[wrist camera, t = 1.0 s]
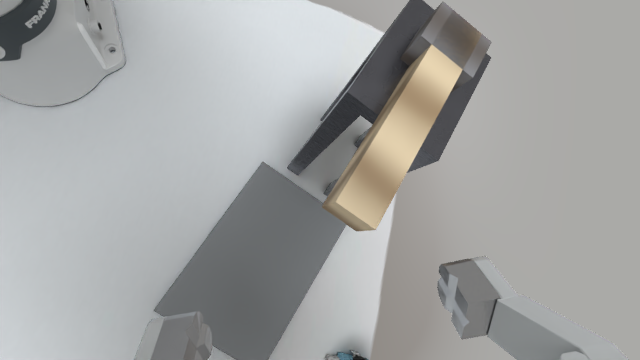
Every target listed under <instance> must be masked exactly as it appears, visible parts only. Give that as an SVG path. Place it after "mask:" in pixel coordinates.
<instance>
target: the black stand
mask: <svg viewBox="0 0 640 360" xmlns="http://www.w3.org/2000/svg"><path fill="white" fill-rule="evenodd" d="M434 11H435V10H434V9H432V8H431V7H430V6H429V5H427V4H426V3H425V2H424V1H423V0H409V2H408V3H407V5H406V6H405V7H404V8H403V10H402V11H401V12H400V14H399V15H398V16H397V18H396V19H395V20H394V22H393V23H392V24H391V26H390V27H389V28H388V30H387V31H386V32H385V34H384V35H383V36H382V38H381V39H380V40H379V42H378V43H377V44H376V46H375V47H374V48H373V50H372V51H371V53H370V54H369V55H368V57H367V58H366V59H365V61H364V62H363V63H362V65H361V66H360V67H359V69H358V70H357V71H356V73H355V74H354V75H353V77H352V78H351V79H350V81H349V82H348V83H347V85H346V86H345V87H344V89H343V90H342V91H341V93H340V94H339V95H338V97H337V98H336V99H335V101H334V102H333V103H332V105H331V106H330V107H329V109H328V110H327V111H326V113H325V114H324V116H323V117H322V118H321V121H322V123H321V124H320V125H319V126H318V128H317V129H316V130H315V132H314V133H313V134H312V135H311V137H310V138H309V139H308V141H307V142H306V143H305V144H304V146H303V147H302V148H301V150H300V151H299V152H298V153H297V155H296V156H295V157H294V159H293V160H292V161H291V163H290V164H289V166H288V167H287V168H288V169H289V170H291V171H292V172H293V173H295V174H296V175H299V174H300V173H301V172H302V171H303V170H304V169H305V168H306V167H307V166H308V165H309V164H310V163H311V162H312V161H313V160H314V159H315V158H316V157H317V156H318V155H319V154H320V153H321V152H322V151H324V150H325V149H326V148H327V147H328V146H329V145H330V144H331V143H332V142H333V141H334V140H335V139H336V138H337V137H338V136H339V135H340V134H341V133H342V132H343V131H344V130H345V129H346V128H347V127H348V126H349V125H351V124H352V123H353V122H354V121H355V120H356V119H357V118H358V117H359V116H360V115H361V116H362V117H364V118H365V119H366V120H368V121H369V122H370V123H372V124H374V122H375V120H376V119H377V117H378V116H379V114H380V112H381V111H382V109H383V108H384V106H385V104H386V103H387V101H388V100H389V98H390V96H391V95H392V93H393V92H394V90H395V88H396V87H397V85H398V84H399V82H400V80H401V79H402V77H403V76H404V74H405V72H406V71H407V69H408V68H409V65H407V64H406V63H405V62H404V61H402V60H401V59H400V58H401V56H402V54H403V53H404V51H405V50H406V48H407V47H408V45H409V44H410V42H411V41H412V39H413V37H414V36H415V34H416V33H417V31H418V30H419V28H420V27H421V25H422V24H423V23H424V22H425V21H426V20H427V19H428V18H429V17H430V15H431V14H432V13H433V12H434ZM490 59H491V57H490V56H489V55H487V54H485V56H484V58H483V60H482V62H481V63H480V65H479V67H478V69H477V71H476V73H475V75H474V77H473V78H472V79H471V80H469V81H468V82H466V83H465V84H463V85H462V86H460V87H459V88H457V89H456V90H454V91H453V92H451V93H450V94H449V96H448V98H447V100H446V101H445V103H444V105H443V107H442V109H441V111H440V113H439V114H438V116H437V118H436V120H435V122H434V124H433V125H432V127H431V129H430V131H429V133H428V135H427V136H426V138H425V140H424V142H423V144H422V146H421V147H420V149H419V151H418V153H417V155H416V157H415V158H414V160H413V162H412V164H411V166H410V168H409V169H408V171H407V173H408V172H410V171H413V170H416V169H418V168H421V167H423V166H426V165H429V164H431V163H434V162H436V161H438V160H439V159H440V157H441V155H442V153H443V150H444V149H445V147H446V145H447V143H448V141H449V139H450V137H451V135H452V133H453V131H454V129H455V127H456V125H457V123H458V121H459V119H460V117H461V116H462V114H463V112H464V110H465V108H466V106H467V104H468V102H469V100H470V98H471V96H472V94H473V92H474V90H475V88H476V86H477V84H478V82H479V80H480V79H481V77H482V75H483V73H484V71H485V69H486V67H487V65H488V63H489V61H490ZM369 130H370V128H369V129H368V130H367V131H366V132H364V133H363V134H362V135H361V136H360V137H359V139H358V140H357V142H356V143H355V146H357V147H358V148H359V146H360V144H361V143H362V141H363V140H364V138H365V136H366V135H367V133H368V132H369ZM338 180H339V179H337V180H335V181H334V182H332V183H330V185H329V186H328V188H327V189H326V191H325V192H324V194H325V195H326V196H329V194H330V193H331V191H332V189H333V188H334V186H335V185H336V183H337V181H338Z"/></svg>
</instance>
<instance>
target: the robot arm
mask: <svg viewBox="0 0 640 360" xmlns="http://www.w3.org/2000/svg"><path fill="white" fill-rule="evenodd" d="M112 50H116V51H115V52H114V53H111V51H112ZM125 62H126V59H125V54H124V50H123V46H122V41H121V37H120V32H119V28H118V24H117V19H116V15H115V10H114V6H113V2H112V0H0V95H2V96H4V97H6V98H8V99H10V100H12V101H15V102H18V103H22V104H26V105H32V106H55V105H61V104H65V103H68V102H71V101H74V100H76V99H79V98H80V97H82V96H84V95H86V94H87V93H88V92H90V91H91V90H92V89H93V88H94V87H95V86H96V85H97V84H98V83H99V82H100V81H101V80H102V79H103V78H104V77H105V76H106V75H108V74H110V73H112V72H114V71H116V70H118V69H120V68H122V67H123V66H124V65H125ZM439 273H440V275H441V278H440V279H439V280H438V287H437V288H438V292H439V297H440V299H441V302H442V304H443V306H444V308H445V309H446V310H448V311H449V312H451V313H452V320H451V321H452V323H453V325H454V326H455V328H456V330H457V332H458V334H459V336H460V338H461V339H466V338H473V337H478V336H485V335H488V337H489V338H490V339H491V340H492V341H494V342H495V343H496V344H498V345H499V346H500V347H501V348H503V349H504V350H505V351H506V352H508V353H509V354H510V355H512V356H513V357H514V358H515V359H517V360H629V359H628V358H627V357H626V356H625V355H624V354H623V353H622V352H621V351H620V350H619V348H617V346H616V345H615V344H614V343H613V342H611V341H609V340H607V339H605V338H604V337H601V336H600V335H598V334H596V333H594V332H592V331H590V330H589V329H587V328H585V327H583V326H581V325H579V324H577V323H575V322H574V321H572V320H570V319H568V318H566V317H564V316H562V315H560V314H558V313H557V312H555V311H553V310H551V309H549V308H547V307H545V306H544V305H542V304H540V303H538V302H536V301H534V300H532V299H530V298H529V297H527V296H525V295H518V294H517V293H516V292H515V291H514V289H513V288H512V287H511V286H510V284H509V283H508V282H507V280H506V279H505V278H504V277H503V276H502V274H501V273H500V272H499V271H498V269H497V268H496V267H495V266H494V264H493V263H492V262H491V261H490V259H489V258H488V257H486V256H482V257H476V258H471V259H464V260H459V261H454V262H450V263H445V264H441V265H440V267H439ZM203 318H204V317H203V315H202V314H201V312H200V311H197V312H191V313H185V314H179V315H172V316H166V317H161V318H155V319H152V320H151V321H150V322H149V323H148V325H147V327H146V330H145V332H144V335H143V337H142V340H141V343H140V345H139V348H138V350H137V353H136V356H135V358H134V360H207V359H208V358H209V356H210V355H211V350H212V334H211V330H210V328H209V326H208V325H207V324H205V323H203Z"/></svg>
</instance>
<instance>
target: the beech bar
mask: <svg viewBox="0 0 640 360" xmlns="http://www.w3.org/2000/svg"><path fill="white" fill-rule="evenodd" d="M490 44H491V41H490V40H488V39H487V38H486V37H485V36H484V35H482V34H481V33H480V32H479V31H477V30H476V29H475V28H474V27H473V26H472V25H470V24H469V23H468V22H467V21H466V20H465V19H463V18H462V17H461V16H460V15H459V14H457V13H456V12H455V11H454V10H452V8H450V7H449V6H448V5H447V4H446V3H444V2H442V3H441V4H440V5H439V7H438V8H437V9H436V10H435V11H434V12H433V13H432V14H431V15H430V17H429V18H428V19H427V20H426V21H425V22H424V23H423V24H422V25H421V27H420V28H419V30H418V31H417V33H416V34H415V36H414V37H413V39H412V41H411V42H410V44H409V45H408V47H407V48H406V50H405V51H404V53H403V54H402V56H401V58H400V59H401V60H402V61H404V62H405V63H406V64H407V65H409V68H408V69H407V71H406V72H405V74H404V76H403V77H402V79H401V80H400V82H399V84H398V85H397V87H396V88H395V90H394V92H393V93H392V95H391V96H390V98H389V100H388V101H387V103H386V104H385V106H384V108H383V109H382V111H381V112H380V114H379V116H378V117H377V119H376V120H375V122H374V124H373V125H372V127H371V128H370V130H369V132H368V133H367V135H366V136H365V138H364V140H363V141H362V143H361V144H360V146H359V148H358V149H357V151H356V152H355V154H354V156H353V157H352V159H351V161H350V162H349V164H348V165H347V167H346V169H345V170H344V172H343V173H342V175H341V177H340V178H339V180H338V181H337V183H336V185H335V186H334V188H333V189H332V191H331V193H330V194H329V196H328V197H327V199H326V201H325V202H324V204H323V205H322V208H323V209H325V210H326V211H328V212H329V213H331V214H332V215H334V216H335V217H336V218H338V219H339V220H341V221H342V222H344V223H345V224H347V225H348V226H349V227H351V228H352V229H354V230H355V231H367V230H376V228H377V226H378V225H379V223H380V221H381V219H382V217H383V215H384V214H385V212H386V210H387V208H388V206H389V204H390V203H391V201H392V199H393V197H394V195H395V193H396V192H397V190H398V188H399V186H400V184H401V182H402V181H403V179H404V177H405V175H406V173H407V171H408V169H409V168H410V166H411V164H412V162H413V160H414V158H415V157H416V155H417V153H418V151H419V149H420V147H421V146H422V144H423V142H424V140H425V138H426V136H427V135H428V133H429V131H430V129H431V127H432V125H433V124H434V122H435V120H436V118H437V116H438V114H439V113H440V111H441V109H442V107H443V105H444V103H445V101H446V100H447V98H448V96H449V94H450V93H451V92H453V91H454V90H456V89H457V88H459V87H460V86H462V85H463V84H465V83H466V82H468V81H469V80H471V79H472V78H473V77H474V75H475V73H476V71H477V69H478V67H479V65H480V63H481V62H482V60H483V58H484V56H485V54H486V52H487V50H488V48H489V46H490Z"/></svg>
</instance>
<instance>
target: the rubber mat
mask: <svg viewBox="0 0 640 360" xmlns="http://www.w3.org/2000/svg"><path fill="white" fill-rule="evenodd" d="M322 205H323V203H322V202H320V201H319V200H318V199H316V198H315V197H313V196H312V195H310V194H309V193H307V192H306V191H305V190H303V189H302V188H300V187H299V186H297V185H296V184H295V183H293V182H292V181H290V180H289V179H287V178H286V177H284V176H283V175H282V174H280V173H279V172H277V171H276V170H274V169H273V168H271V167H270V166H269V165H267V164H266V163H264V162H262V163H261V165H260V166H259V168H258V169H257V170H256V172H255V173H254V174H253V176H252V177H251V178H250V180H249V181H248V182H247V184H246V185H245V187H244V188H243V189H242V191H241V192H240V193H239V195H238V196H237V197H236V199H235V200H234V202H233V203H232V204H231V206H230V207H229V208H228V210H227V211H226V212H225V214H224V215H223V217H222V218H221V219H220V221H219V222H218V223H217V225H216V226H215V227H214V229H213V230H212V232H211V233H210V234H209V236H208V237H207V238H206V240H205V241H204V242H203V244H202V245H201V247H200V248H199V249H198V251H197V252H196V253H195V255H194V256H193V257H192V259H191V260H190V262H189V263H188V264H187V266H186V267H185V268H184V270H183V271H182V272H181V274H180V275H179V277H178V278H177V279H176V281H175V282H174V283H173V285H172V286H171V287H170V289H169V290H168V292H167V293H166V294H165V296H164V297H163V298H162V300H161V301H160V302H159V304H158V305H157V307H156V308H155V309H154V311H155V312H157V313H159V314H160V315H162V316H164V317H166V316H172V315H179V314H185V313H191V312H197V311H200V312H201V314H202V315H203V317H204V318H203V323H205V324H207V325H208V326H209V328H210V330H211V334H212V345H213V346H214V347H216V348H218V349H219V350H221V351H223V352H224V353H226V354H228V355H229V356H231V357H233V358H234V359H236V360H268V358H269V357H270V355H271V353H272V352H273V350H274V348H275V346H276V345H277V343H278V341H279V340H280V338H281V336H282V334H283V333H284V331H285V329H286V328H287V326H288V324H289V322H290V321H291V319H292V317H293V316H294V314H295V312H296V310H297V309H298V307H299V305H300V303H301V302H302V300H303V298H304V297H305V295H306V293H307V291H308V290H309V288H310V286H311V285H312V283H313V281H314V279H315V278H316V276H317V274H318V273H319V271H320V269H321V267H322V266H323V264H324V262H325V261H326V259H327V257H328V255H329V254H330V252H331V250H332V248H333V247H334V245H335V243H336V242H337V240H338V238H339V236H340V235H341V233H342V231H343V230H344V228H345V226H346V224H345V223H344V222H342V221H341V220H339V219H338V218H336V217H335V216H334V215H332V214H331V213H329V212H328V211H326V210H325V209H323V208H322Z"/></svg>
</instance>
